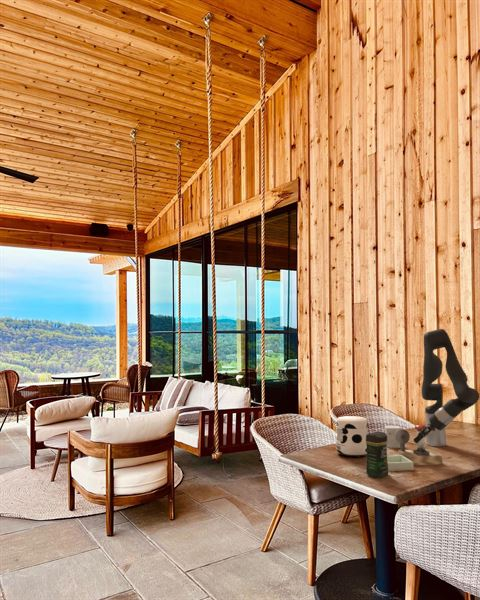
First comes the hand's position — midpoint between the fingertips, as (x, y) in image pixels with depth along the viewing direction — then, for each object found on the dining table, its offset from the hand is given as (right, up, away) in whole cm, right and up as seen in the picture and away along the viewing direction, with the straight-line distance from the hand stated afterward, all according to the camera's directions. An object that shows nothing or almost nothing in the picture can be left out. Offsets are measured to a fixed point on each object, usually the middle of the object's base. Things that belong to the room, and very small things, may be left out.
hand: (417, 440), depth 220 cm
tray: (-13, -10, -7) cm, 18 cm away
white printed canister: (-27, -12, +14) cm, 33 cm away
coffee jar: (-25, -10, -19) cm, 33 cm away
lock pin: (+1, -6, -1) cm, 7 cm away
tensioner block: (+1, -10, +1) cm, 10 cm away
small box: (-2, -13, +29) cm, 32 cm away
